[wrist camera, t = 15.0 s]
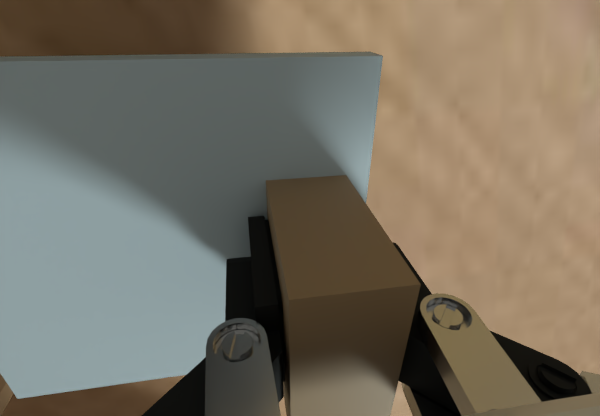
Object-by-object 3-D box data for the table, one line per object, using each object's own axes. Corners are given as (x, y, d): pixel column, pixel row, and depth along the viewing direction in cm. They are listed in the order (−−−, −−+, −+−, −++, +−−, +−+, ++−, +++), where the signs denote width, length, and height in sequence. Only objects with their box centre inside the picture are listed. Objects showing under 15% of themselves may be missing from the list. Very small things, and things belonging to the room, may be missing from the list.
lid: (370, 51, 10) (512, 97, 5) (343, 332, 16) (395, 486, 11) (-160, 58, 8) (-817, 144, 3) (30, 375, 14) (-85, 586, 9)
